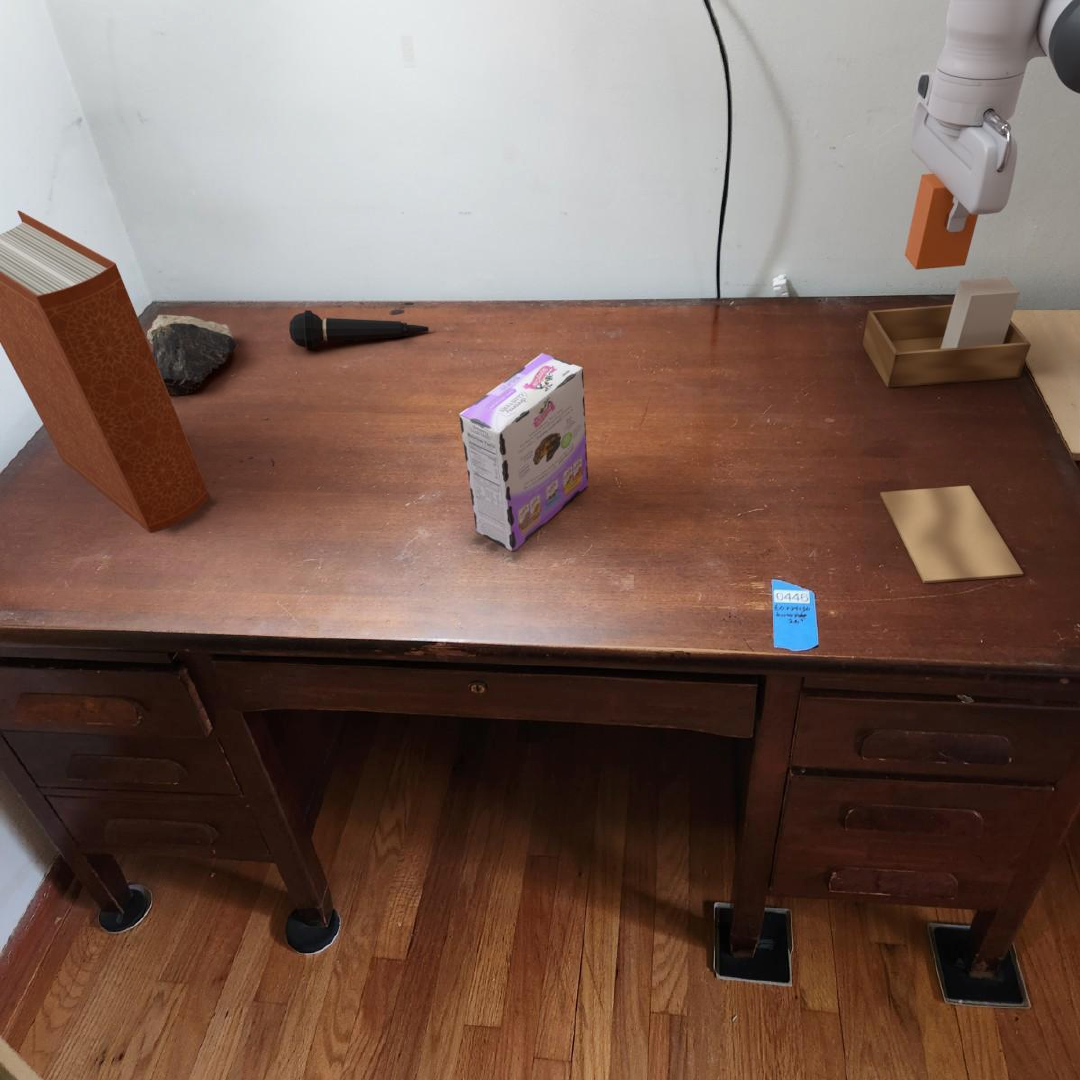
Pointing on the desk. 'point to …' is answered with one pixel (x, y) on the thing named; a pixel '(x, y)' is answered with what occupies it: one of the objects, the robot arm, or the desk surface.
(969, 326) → the block
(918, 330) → the wooden box
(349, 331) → the microphone
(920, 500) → the cork mat
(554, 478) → the candy box
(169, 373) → the mineral specimen
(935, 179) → the block
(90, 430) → the book
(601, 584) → the desk surface
